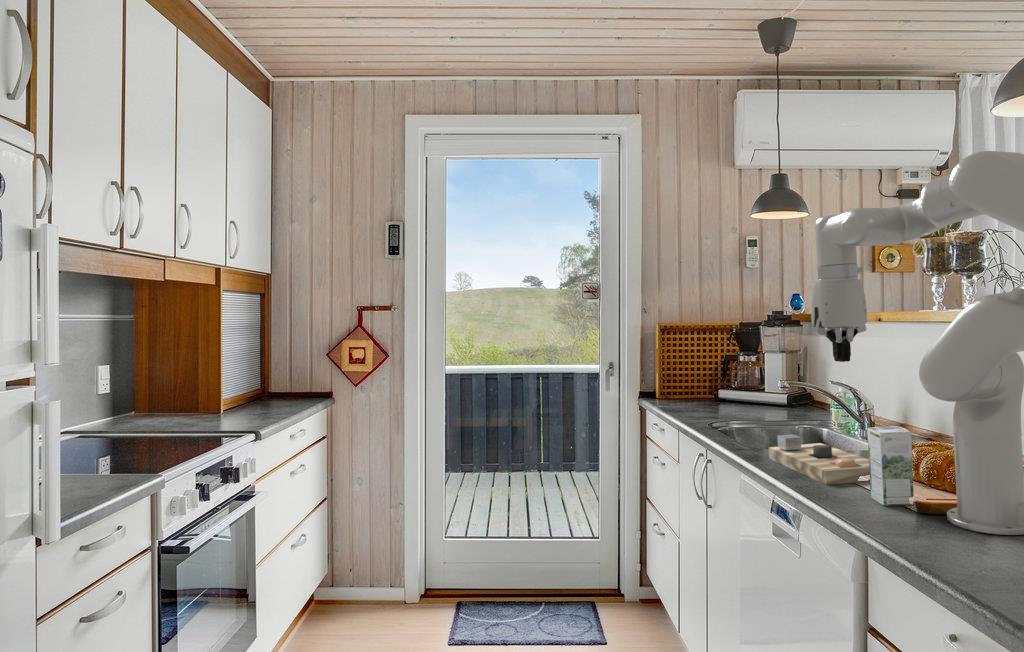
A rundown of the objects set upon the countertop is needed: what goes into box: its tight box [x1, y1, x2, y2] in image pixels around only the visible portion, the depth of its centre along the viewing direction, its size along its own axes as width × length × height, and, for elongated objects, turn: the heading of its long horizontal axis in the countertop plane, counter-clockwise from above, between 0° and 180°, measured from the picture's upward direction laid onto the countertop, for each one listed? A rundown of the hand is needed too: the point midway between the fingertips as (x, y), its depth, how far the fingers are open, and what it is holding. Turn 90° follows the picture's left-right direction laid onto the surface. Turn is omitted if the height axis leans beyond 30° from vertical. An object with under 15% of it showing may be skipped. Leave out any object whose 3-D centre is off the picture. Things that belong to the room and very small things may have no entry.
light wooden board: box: [768, 442, 870, 486], centre depth 155 cm, size 26×14×3 cm, turn 5°
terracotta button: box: [835, 458, 855, 468], centre depth 146 cm, size 4×4×3 cm
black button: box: [813, 444, 833, 459], centre depth 155 cm, size 4×4×3 cm
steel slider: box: [776, 433, 802, 450], centre depth 163 cm, size 4×4×3 cm
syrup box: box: [867, 425, 915, 507], centre depth 127 cm, size 6×6×14 cm
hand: (842, 360), depth 137 cm, fingers closed
